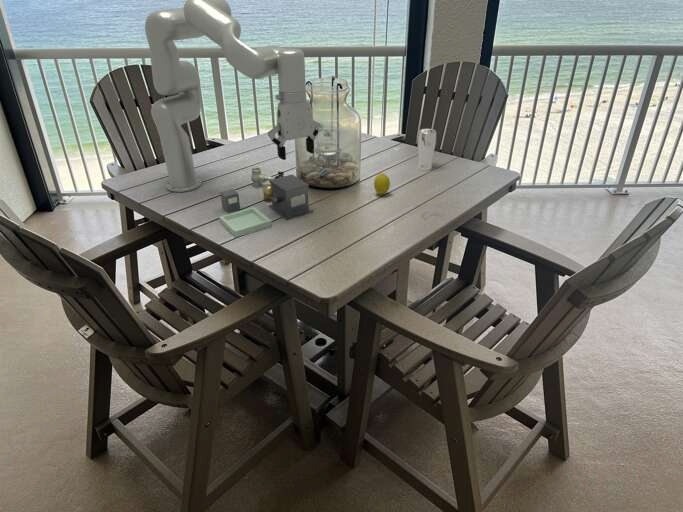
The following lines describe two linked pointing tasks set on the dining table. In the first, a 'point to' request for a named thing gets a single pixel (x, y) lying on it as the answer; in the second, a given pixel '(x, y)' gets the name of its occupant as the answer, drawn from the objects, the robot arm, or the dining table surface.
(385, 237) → the dining table surface
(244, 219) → the tray
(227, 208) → the block
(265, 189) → the cylinder
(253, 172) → the valve
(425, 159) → the beer glass
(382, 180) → the lemon
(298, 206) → the box
